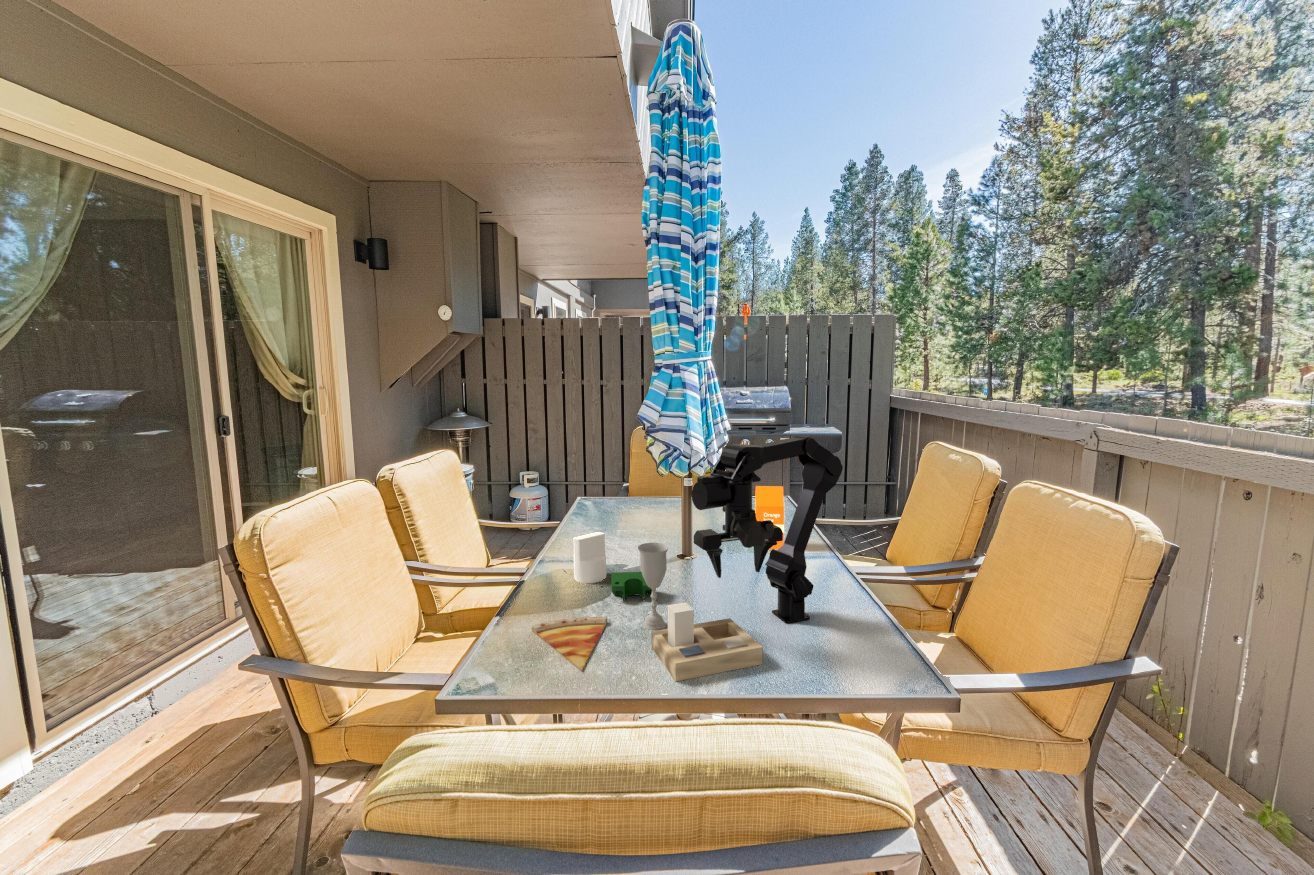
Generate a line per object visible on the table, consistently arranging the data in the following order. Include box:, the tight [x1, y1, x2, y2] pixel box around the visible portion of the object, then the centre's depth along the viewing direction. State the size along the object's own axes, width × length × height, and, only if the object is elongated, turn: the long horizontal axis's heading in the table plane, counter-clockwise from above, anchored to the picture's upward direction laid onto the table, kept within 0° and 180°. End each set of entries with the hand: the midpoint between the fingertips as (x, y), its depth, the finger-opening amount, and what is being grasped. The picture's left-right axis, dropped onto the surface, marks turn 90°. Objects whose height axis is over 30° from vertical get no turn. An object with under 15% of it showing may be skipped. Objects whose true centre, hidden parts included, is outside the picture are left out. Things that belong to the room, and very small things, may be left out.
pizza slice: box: [531, 616, 608, 673], centre depth 122 cm, size 16×22×2 cm
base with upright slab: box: [572, 531, 607, 584], centre depth 160 cm, size 9×9×12 cm
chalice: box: [637, 542, 669, 631], centre depth 129 cm, size 7×7×18 cm
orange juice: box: [754, 485, 785, 549], centre depth 184 cm, size 8×9×20 cm
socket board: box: [650, 617, 763, 682], centre depth 115 cm, size 14×18×4 cm
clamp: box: [610, 571, 652, 602], centre depth 145 cm, size 12×6×9 cm, turn 87°
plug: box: [667, 602, 695, 647], centre depth 115 cm, size 4×4×10 cm
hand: (738, 574), depth 124 cm, fingers open, 9 cm apart
